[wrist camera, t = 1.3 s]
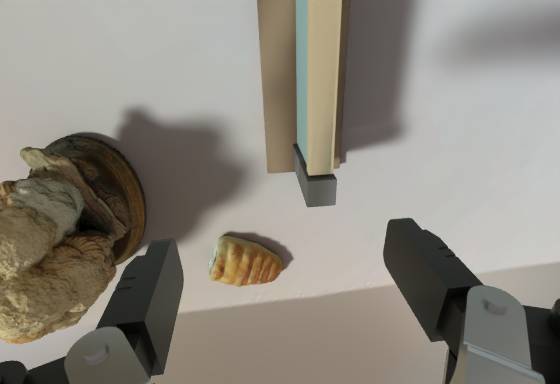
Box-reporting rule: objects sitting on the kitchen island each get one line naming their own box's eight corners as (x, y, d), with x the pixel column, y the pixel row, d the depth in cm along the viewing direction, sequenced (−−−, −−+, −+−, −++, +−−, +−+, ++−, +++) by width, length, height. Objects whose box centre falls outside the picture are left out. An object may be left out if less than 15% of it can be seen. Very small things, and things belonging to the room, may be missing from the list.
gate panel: (317, -21, 25) (343, -39, 18) (314, 141, 32) (333, 173, 25) (293, -20, 25) (310, -38, 18) (295, 142, 32) (308, 175, 25)
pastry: (288, 244, 40) (292, 263, 37) (273, 281, 43) (275, 302, 40) (217, 229, 38) (214, 249, 35) (206, 270, 41) (202, 291, 38)
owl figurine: (13, 117, 30) (-220, 207, 15) (141, 130, 32) (49, 221, 17) (50, 262, 38) (-76, 415, 23) (151, 265, 40) (95, 408, 25)
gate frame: (350, -71, 25) (405, -123, 16) (337, 164, 35) (366, 210, 26) (253, -69, 25) (256, -121, 16) (267, 169, 35) (274, 218, 26)
